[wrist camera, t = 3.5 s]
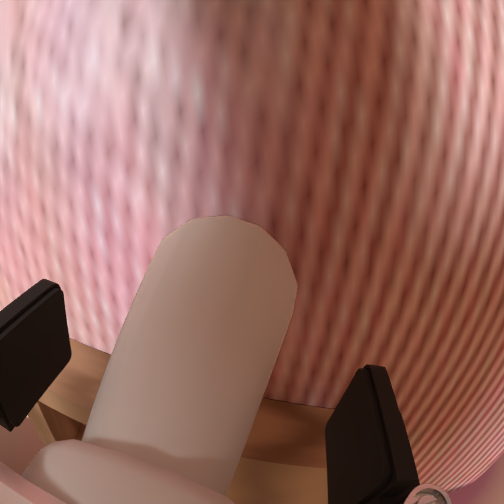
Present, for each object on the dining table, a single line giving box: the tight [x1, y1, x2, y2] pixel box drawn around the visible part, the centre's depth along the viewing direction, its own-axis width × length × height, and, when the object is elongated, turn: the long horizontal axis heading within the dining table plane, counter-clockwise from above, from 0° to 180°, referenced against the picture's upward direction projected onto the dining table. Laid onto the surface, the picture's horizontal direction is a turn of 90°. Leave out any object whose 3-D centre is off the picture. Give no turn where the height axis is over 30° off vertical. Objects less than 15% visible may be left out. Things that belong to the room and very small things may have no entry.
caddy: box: [28, 338, 335, 504], centre depth 18 cm, size 24×12×4 cm, turn 78°
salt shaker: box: [21, 215, 298, 504], centre depth 8 cm, size 6×6×13 cm
